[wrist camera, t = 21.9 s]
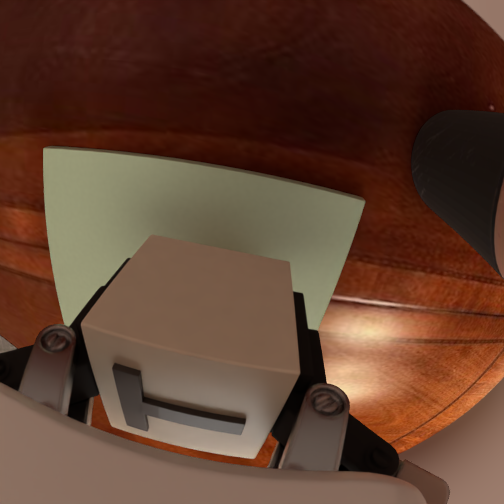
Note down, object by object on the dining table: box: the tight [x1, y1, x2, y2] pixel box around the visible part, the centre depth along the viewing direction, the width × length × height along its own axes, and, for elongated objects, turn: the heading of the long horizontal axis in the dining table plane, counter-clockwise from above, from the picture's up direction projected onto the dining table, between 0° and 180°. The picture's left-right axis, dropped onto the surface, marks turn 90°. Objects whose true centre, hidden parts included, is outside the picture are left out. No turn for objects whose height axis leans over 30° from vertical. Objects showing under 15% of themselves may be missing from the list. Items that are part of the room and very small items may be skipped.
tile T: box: [81, 234, 300, 459], centre depth 9 cm, size 5×5×5 cm
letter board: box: [43, 146, 365, 330], centre depth 21 cm, size 22×21×1 cm
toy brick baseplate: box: [0, 336, 17, 353], centre depth 27 cm, size 15×20×8 cm
